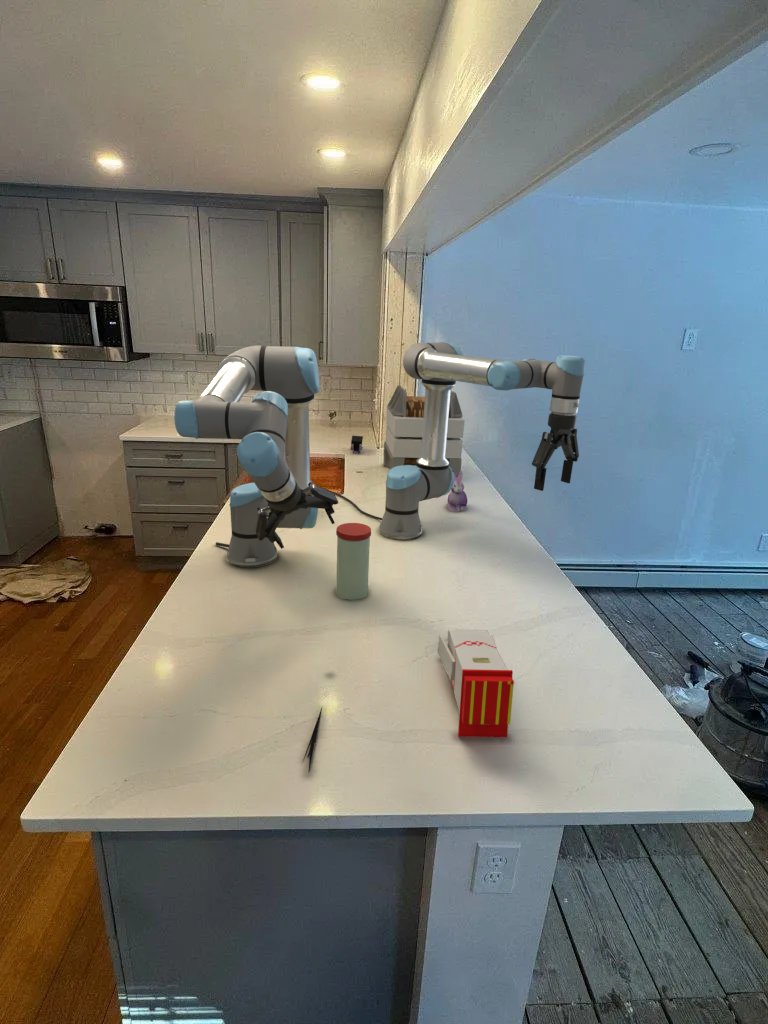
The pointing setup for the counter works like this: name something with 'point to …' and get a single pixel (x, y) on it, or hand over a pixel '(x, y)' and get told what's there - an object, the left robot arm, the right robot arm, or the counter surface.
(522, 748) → the counter surface
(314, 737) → the feather
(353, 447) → the figurine character
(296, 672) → the counter surface
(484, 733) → the toy
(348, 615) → the counter surface
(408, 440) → the grey slatted crate
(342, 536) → the lid
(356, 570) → the jar
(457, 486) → the figurine
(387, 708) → the counter surface
